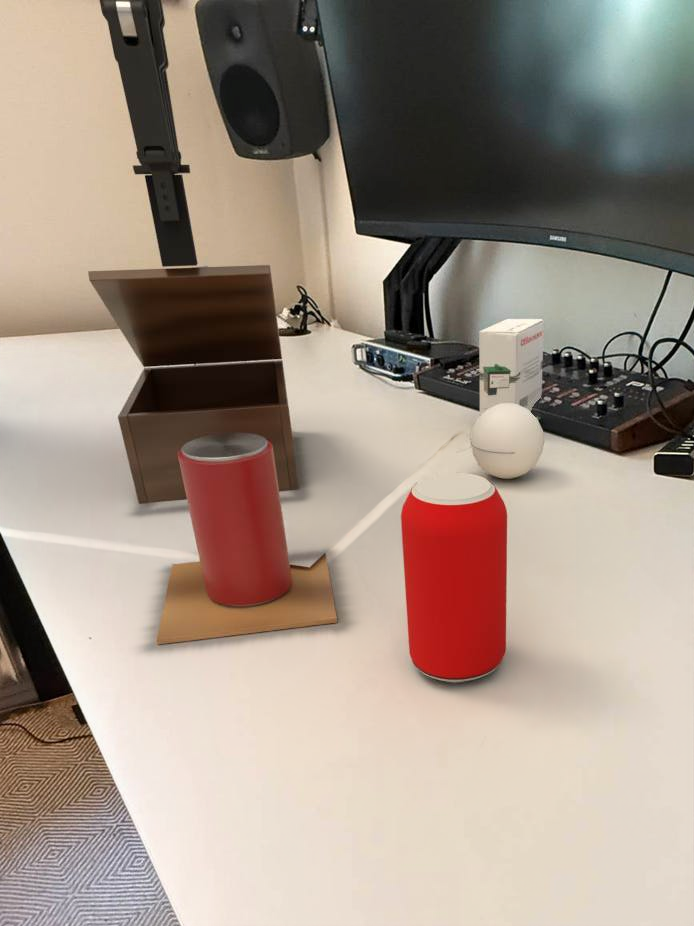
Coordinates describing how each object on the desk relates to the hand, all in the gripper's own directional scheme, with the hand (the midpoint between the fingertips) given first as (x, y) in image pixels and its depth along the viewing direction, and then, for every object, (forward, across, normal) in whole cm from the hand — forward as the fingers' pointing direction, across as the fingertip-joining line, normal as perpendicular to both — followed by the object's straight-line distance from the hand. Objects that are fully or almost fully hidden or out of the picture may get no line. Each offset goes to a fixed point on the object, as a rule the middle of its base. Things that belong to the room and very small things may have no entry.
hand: (180, 264), depth 67 cm
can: (+20, -21, -3) cm, 29 cm away
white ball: (+21, -2, -27) cm, 34 cm away
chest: (+20, +8, 0) cm, 22 cm away
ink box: (+21, +15, -33) cm, 42 cm away
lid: (+6, +9, 0) cm, 11 cm away
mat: (+20, -21, -3) cm, 30 cm away
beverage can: (+21, -35, -16) cm, 43 cm away
